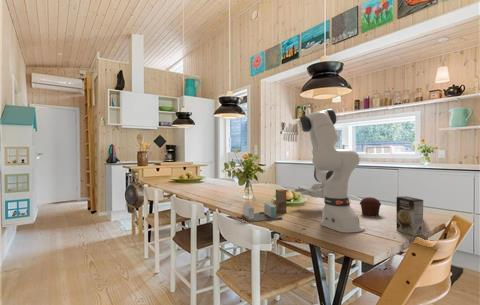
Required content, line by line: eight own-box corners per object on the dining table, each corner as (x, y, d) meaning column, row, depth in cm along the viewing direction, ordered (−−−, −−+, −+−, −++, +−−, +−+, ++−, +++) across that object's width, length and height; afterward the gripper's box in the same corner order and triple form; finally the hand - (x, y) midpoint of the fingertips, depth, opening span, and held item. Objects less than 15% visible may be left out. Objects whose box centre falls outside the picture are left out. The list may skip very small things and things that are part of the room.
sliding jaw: (275, 217, 151) (275, 206, 151) (270, 218, 151) (270, 206, 151) (268, 212, 163) (268, 202, 163) (264, 213, 162) (263, 202, 162)
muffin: (367, 217, 151) (367, 200, 151) (355, 213, 162) (355, 196, 162) (385, 216, 154) (385, 199, 154) (372, 211, 165) (372, 195, 165)
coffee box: (395, 230, 128) (395, 196, 128) (405, 228, 130) (405, 195, 130) (413, 236, 119) (413, 200, 119) (423, 234, 121) (423, 199, 121)
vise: (282, 219, 150) (282, 207, 150) (248, 222, 146) (248, 209, 146) (272, 212, 166) (272, 201, 166) (241, 215, 161) (241, 203, 161)
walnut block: (286, 212, 165) (286, 190, 165) (278, 213, 164) (278, 190, 164) (283, 211, 170) (283, 189, 170) (276, 211, 169) (275, 189, 169)
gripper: (309, 183, 184) (291, 184, 180) (326, 188, 164) (305, 189, 160) (309, 192, 184) (291, 193, 180) (326, 198, 164) (305, 200, 161)
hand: (298, 191), depth 170 cm, fingers open, 8 cm apart
